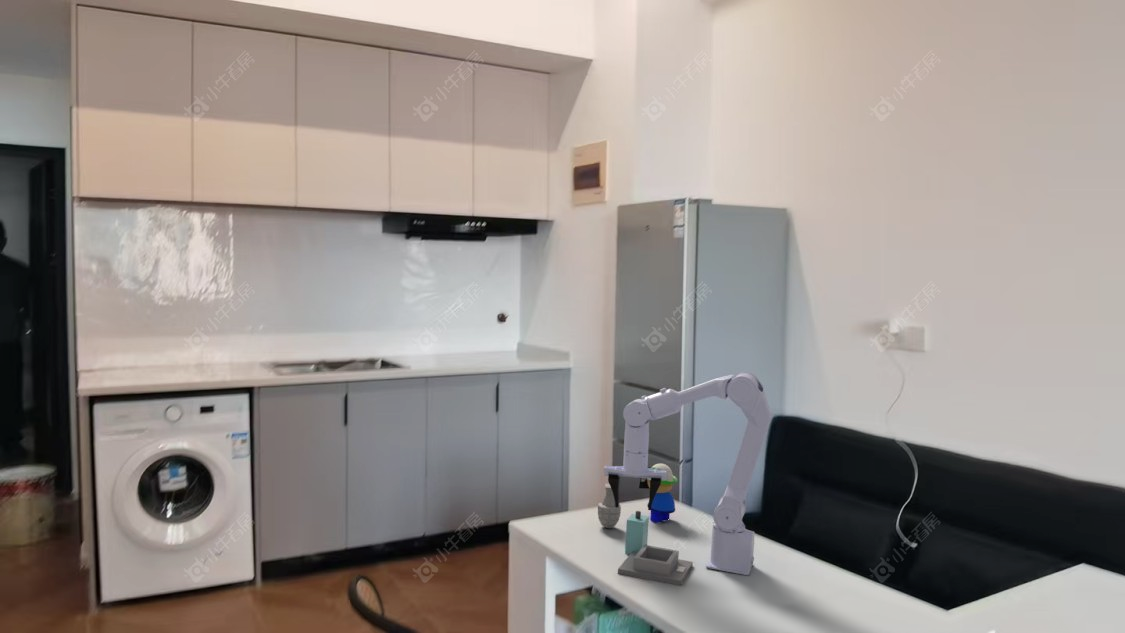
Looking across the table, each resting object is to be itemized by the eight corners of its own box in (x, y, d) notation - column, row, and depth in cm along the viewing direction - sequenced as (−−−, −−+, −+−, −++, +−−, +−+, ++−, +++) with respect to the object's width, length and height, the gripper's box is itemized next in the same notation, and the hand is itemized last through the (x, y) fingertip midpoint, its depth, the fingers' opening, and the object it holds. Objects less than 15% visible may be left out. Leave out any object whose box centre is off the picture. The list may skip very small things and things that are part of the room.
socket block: (692, 566, 175) (693, 551, 175) (681, 585, 164) (682, 569, 164) (632, 555, 180) (633, 540, 180) (617, 573, 169) (618, 557, 169)
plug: (647, 549, 184) (649, 510, 184) (641, 556, 180) (643, 516, 179) (630, 546, 186) (633, 507, 185) (624, 553, 181) (627, 513, 181)
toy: (657, 511, 214) (660, 458, 213) (682, 520, 207) (685, 465, 206) (634, 517, 208) (637, 462, 207) (659, 526, 201) (663, 470, 200)
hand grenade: (620, 532, 196) (622, 489, 195) (597, 530, 196) (599, 488, 195) (618, 523, 202) (621, 482, 201) (596, 522, 202) (598, 481, 201)
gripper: (667, 449, 185) (664, 505, 186) (606, 444, 187) (604, 500, 188) (666, 456, 178) (664, 514, 179) (604, 451, 180) (601, 508, 181)
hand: (633, 507), depth 183 cm, fingers open, 7 cm apart
